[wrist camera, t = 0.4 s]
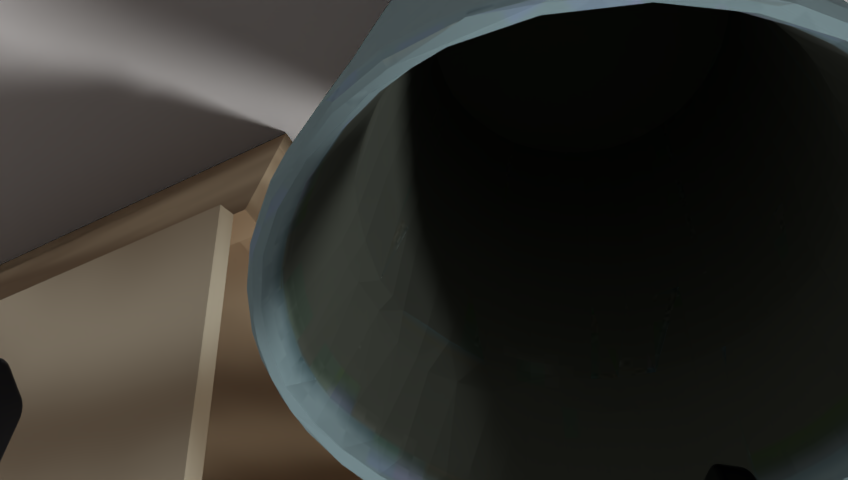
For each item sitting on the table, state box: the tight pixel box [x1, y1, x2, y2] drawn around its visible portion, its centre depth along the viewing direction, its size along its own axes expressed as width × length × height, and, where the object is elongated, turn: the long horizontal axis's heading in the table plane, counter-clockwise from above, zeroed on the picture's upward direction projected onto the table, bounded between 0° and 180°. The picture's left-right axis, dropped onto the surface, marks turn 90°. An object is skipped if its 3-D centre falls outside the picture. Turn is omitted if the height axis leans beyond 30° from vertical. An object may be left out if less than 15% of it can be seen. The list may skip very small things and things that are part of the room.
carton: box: [0, 134, 363, 480], centre depth 29 cm, size 16×20×4 cm
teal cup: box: [247, 0, 848, 480], centre depth 15 cm, size 10×10×12 cm
